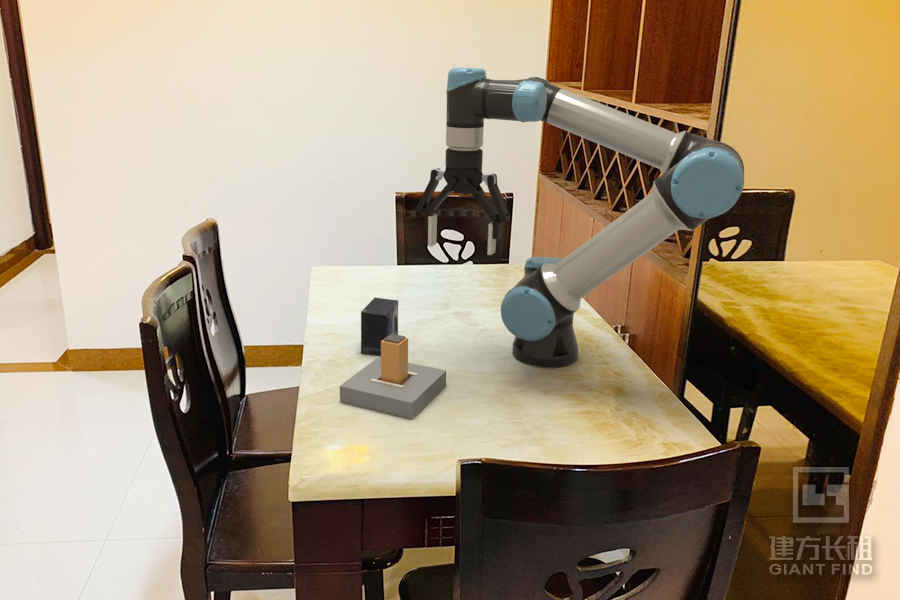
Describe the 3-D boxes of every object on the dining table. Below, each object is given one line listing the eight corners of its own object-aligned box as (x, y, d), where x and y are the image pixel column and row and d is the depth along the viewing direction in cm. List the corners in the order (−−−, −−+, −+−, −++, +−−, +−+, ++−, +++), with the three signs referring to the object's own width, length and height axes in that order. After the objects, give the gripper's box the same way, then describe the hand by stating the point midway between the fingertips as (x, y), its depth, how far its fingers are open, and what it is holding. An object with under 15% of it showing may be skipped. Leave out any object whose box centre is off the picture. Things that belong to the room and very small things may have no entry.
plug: (407, 391, 150) (408, 336, 145) (398, 399, 146) (398, 343, 142) (390, 387, 151) (390, 332, 147) (381, 395, 148) (380, 339, 143)
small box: (387, 357, 165) (387, 314, 162) (360, 354, 167) (359, 311, 163) (399, 340, 175) (399, 299, 172) (373, 337, 176) (373, 296, 173)
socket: (446, 385, 153) (446, 369, 151) (411, 419, 139) (411, 401, 137) (379, 371, 158) (379, 355, 157) (340, 401, 145) (339, 384, 143)
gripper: (529, 150, 145) (523, 252, 152) (417, 141, 155) (416, 237, 162) (516, 155, 139) (511, 261, 146) (400, 145, 148) (400, 245, 155)
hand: (461, 249), depth 154 cm, fingers open, 13 cm apart
